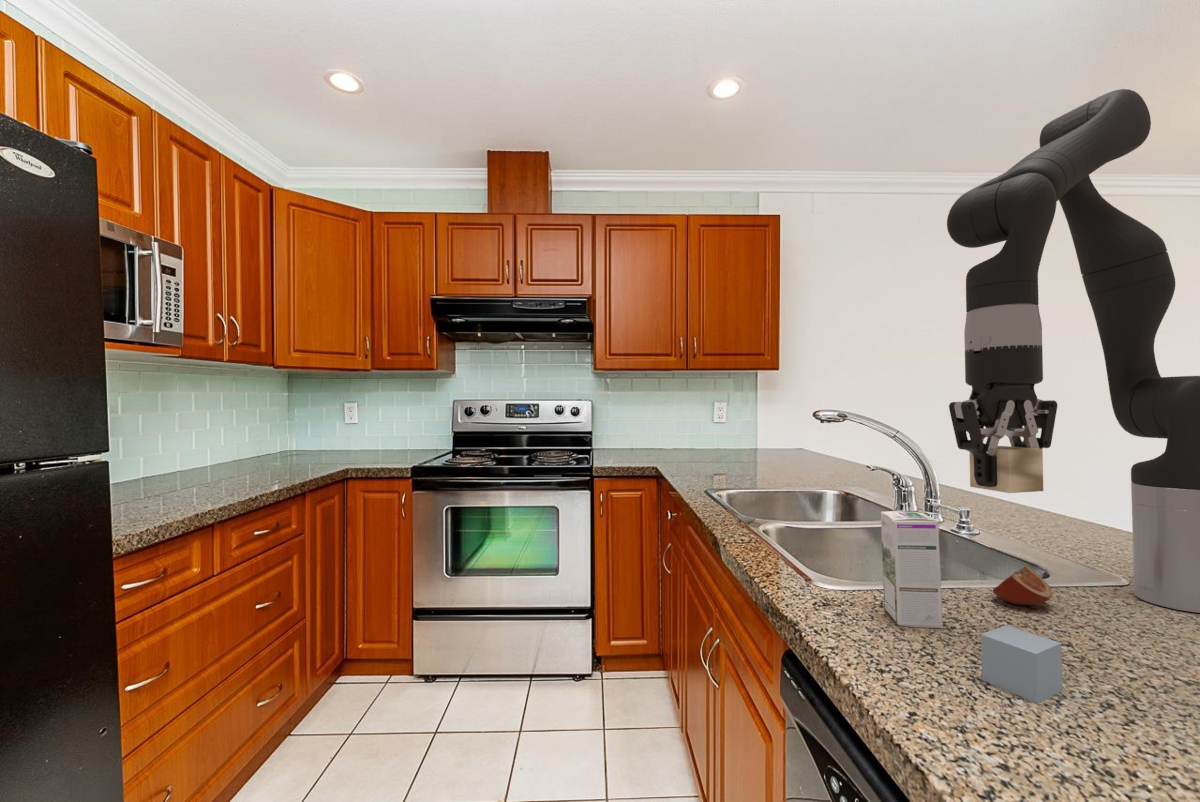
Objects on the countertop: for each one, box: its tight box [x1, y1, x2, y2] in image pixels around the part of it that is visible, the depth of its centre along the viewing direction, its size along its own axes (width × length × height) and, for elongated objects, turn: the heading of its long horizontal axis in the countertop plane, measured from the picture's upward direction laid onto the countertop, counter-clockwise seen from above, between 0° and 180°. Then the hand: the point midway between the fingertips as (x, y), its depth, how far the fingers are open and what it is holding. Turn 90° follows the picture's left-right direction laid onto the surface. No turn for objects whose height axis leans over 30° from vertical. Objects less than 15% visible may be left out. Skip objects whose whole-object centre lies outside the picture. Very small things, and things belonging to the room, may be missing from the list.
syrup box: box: [880, 510, 943, 629], centre depth 72 cm, size 6×6×14 cm
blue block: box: [980, 625, 1063, 704], centre depth 55 cm, size 5×5×5 cm
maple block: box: [968, 445, 1044, 494], centre depth 63 cm, size 5×5×5 cm
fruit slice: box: [992, 565, 1053, 606], centre depth 77 cm, size 8×7×5 cm
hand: (1005, 484), depth 63 cm, fingers closed on maple block, 5 cm apart
